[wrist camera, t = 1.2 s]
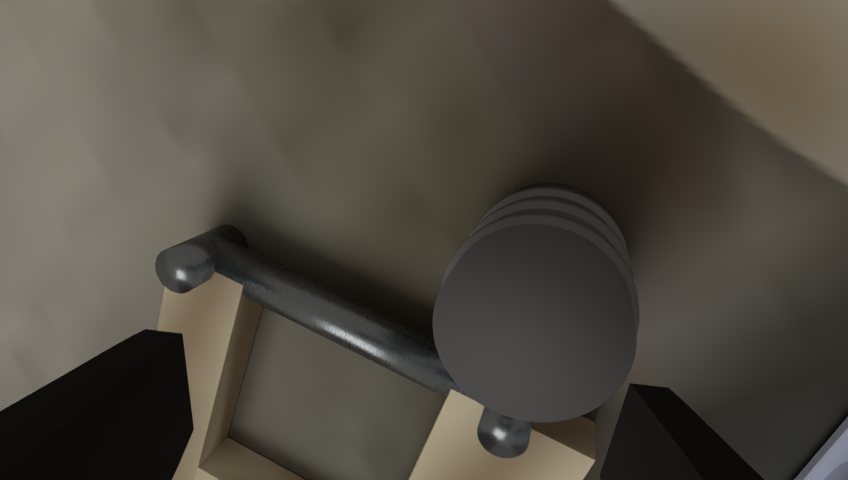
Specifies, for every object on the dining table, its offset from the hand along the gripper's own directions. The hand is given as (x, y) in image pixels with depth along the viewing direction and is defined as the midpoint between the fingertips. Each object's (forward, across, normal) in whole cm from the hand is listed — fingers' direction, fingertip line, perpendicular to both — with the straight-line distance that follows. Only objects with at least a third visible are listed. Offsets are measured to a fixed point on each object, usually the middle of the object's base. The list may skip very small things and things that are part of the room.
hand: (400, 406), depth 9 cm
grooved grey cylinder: (+9, -4, +1) cm, 10 cm away
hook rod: (+10, +2, +5) cm, 12 cm away
